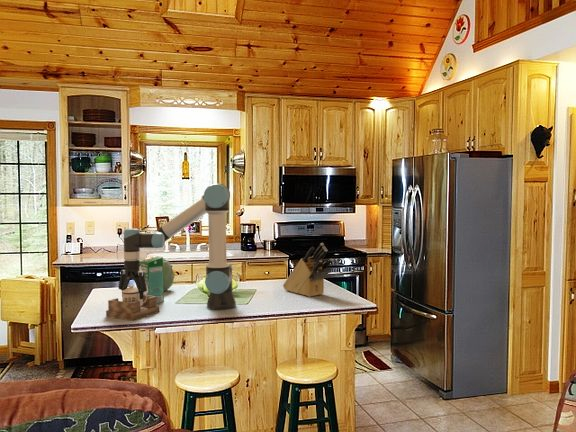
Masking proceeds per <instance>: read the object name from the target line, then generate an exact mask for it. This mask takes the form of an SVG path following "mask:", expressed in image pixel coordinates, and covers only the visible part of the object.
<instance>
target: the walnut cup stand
mask: <svg viewBox="0 0 576 432" xmlns="http://www.w3.org/2000/svg"><path fill="white" fill-rule="evenodd" d="M145 299H146V296H145V295H144V298H143V301H145ZM107 301H108V302H107V303H108V304H107V305H108V309H107V310H106V311H105V317H106V318H111V317H113V319H118V318H120V319H119V320H125V319H126V320H127V321H136V320H139V319H141V317H142V318H144V316H145V317H148V316H150V315H154V314H158V313H159V312H160V305H158V303H157V296H149V295H147V300H146V302H145V303H143V305H141V308H140V301H136V302H132V303H130V302H123V301H121V300H119V298H111V299H109V300H107ZM147 315H148V316H147ZM138 318H139V319H138Z"/></svg>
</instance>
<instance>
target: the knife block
mask: <svg viewBox="0 0 576 432" xmlns="http://www.w3.org/2000/svg"><path fill="white" fill-rule="evenodd" d="M328 251H329V250H328V249H327V247H326V246H325V244H324V242H321V243H320V244H319V246H318V247H317V248H316V249H315V246H311V247H310V248H309V250H308V251H307V253H306V254H305V256H304V257H303V258H300V260H299V261H298V262H297V264H296V265H295V267H294V268H293V270H292V271H291V272H290V274H289V275H288V277H287V279H286V280H285V282H284V283H283V284H282V287H283V289H284V290H285V291H287V292H291V293H296V294H298V295H299V294H300V295H303V296H307V297H308V298H309V297H311V298H312V297H313V296H319V295H321V296H322V295H323V294H324V289H325V288H324V287H325V286H324V284H325V282H324V279H325V278H326V277H327V276H328V274H330V272H332V271H333V268H332V267H329V266H330V265H331V264H332V263H333V261H334V260H333V258H329V259H328V258H325V257H326V255H327V254H328ZM312 254H313V255H312Z"/></svg>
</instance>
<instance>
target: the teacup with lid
mask: <svg viewBox="0 0 576 432" xmlns="http://www.w3.org/2000/svg"><path fill="white" fill-rule="evenodd" d="M138 292H139V291H138V289H137V287H135V286H134V285H133V284H130V285H128V287H127V289H125V290H123V291H121V297H122V302H130V303H132V302H136V301H138ZM143 295H145V296H146V299H145V301H143V303H145V302H146V300H147V295H146V294H144V293H143ZM140 308H141V306H140Z"/></svg>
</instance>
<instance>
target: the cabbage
mask: <svg viewBox="0 0 576 432" xmlns="http://www.w3.org/2000/svg"><path fill="white" fill-rule="evenodd" d="M175 276H176V274H175V273H174V270H173V265H172V264H171V263H170V261H169V259H166V258H163V289H164V292H165V291H167V290H169V289H170V288H171V287H172V285H173V284H174V279H175Z"/></svg>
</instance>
